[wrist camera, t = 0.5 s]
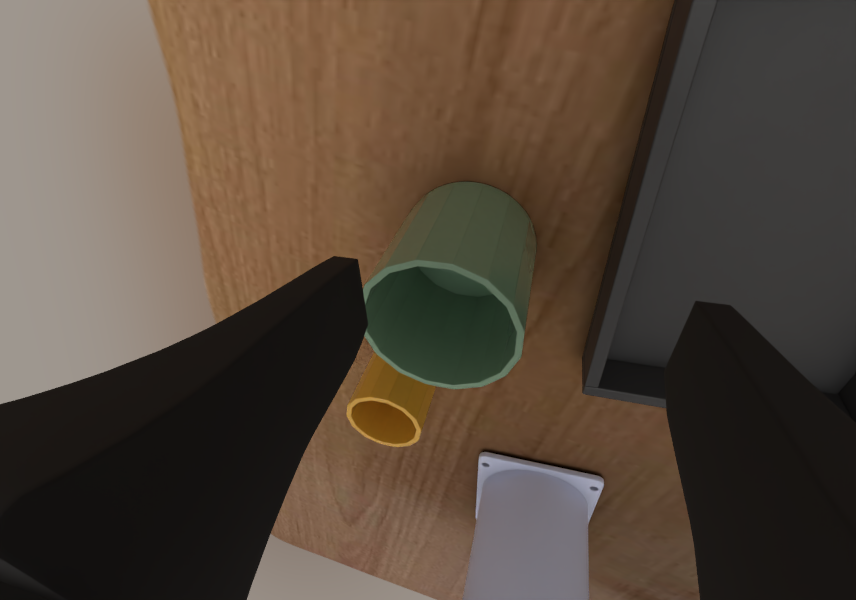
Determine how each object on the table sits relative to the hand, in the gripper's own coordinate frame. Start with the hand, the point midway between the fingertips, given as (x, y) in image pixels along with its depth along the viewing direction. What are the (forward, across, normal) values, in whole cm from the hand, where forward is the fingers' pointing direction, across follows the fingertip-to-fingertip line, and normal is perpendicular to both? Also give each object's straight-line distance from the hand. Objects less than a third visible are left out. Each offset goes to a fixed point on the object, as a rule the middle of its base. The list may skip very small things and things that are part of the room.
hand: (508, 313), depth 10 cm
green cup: (+9, +2, +4) cm, 10 cm away
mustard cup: (+9, +6, +11) cm, 15 cm away
